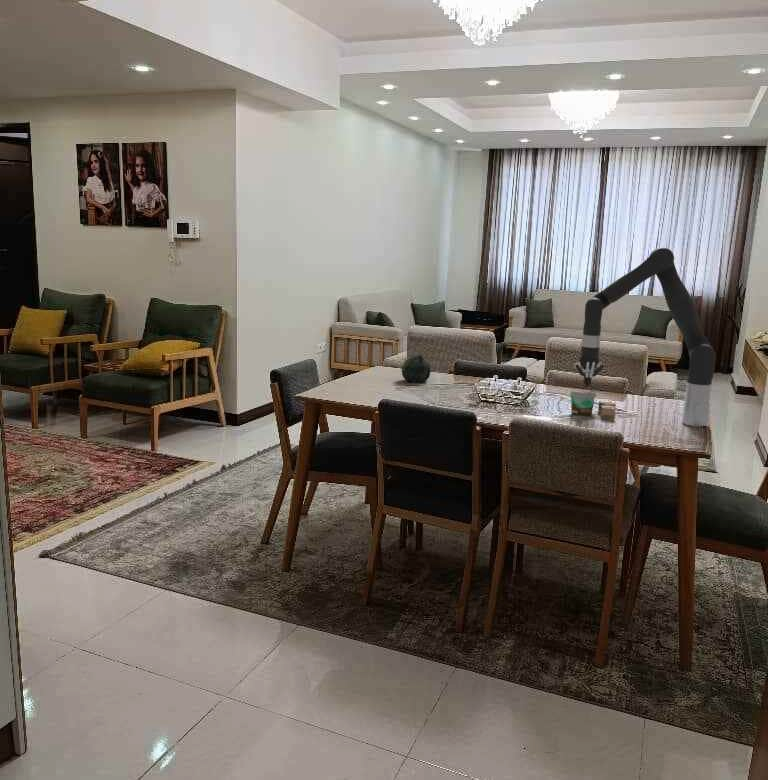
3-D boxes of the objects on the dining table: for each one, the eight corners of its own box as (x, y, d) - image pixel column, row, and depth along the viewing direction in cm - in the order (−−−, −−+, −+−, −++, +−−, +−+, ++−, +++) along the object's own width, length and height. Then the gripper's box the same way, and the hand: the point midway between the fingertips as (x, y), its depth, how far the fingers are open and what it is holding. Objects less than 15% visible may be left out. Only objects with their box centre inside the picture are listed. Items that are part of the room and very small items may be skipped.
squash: (399, 367, 375) (403, 349, 363) (427, 368, 377) (432, 350, 365) (401, 389, 366) (405, 371, 354) (429, 390, 368) (434, 372, 356)
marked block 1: (614, 415, 303) (615, 403, 302) (604, 415, 302) (605, 403, 301) (608, 412, 308) (609, 400, 307) (598, 412, 307) (599, 401, 306)
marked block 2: (614, 420, 294) (615, 408, 293) (601, 419, 295) (602, 407, 294) (612, 417, 299) (613, 405, 298) (600, 416, 300) (601, 404, 299)
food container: (577, 417, 298) (579, 394, 296) (568, 413, 303) (570, 391, 301) (601, 415, 303) (603, 392, 301) (591, 411, 308) (593, 389, 306)
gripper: (578, 346, 293) (575, 387, 296) (609, 347, 294) (605, 387, 297) (572, 344, 300) (568, 384, 303) (602, 344, 301) (598, 384, 305)
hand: (586, 385), depth 300 cm, fingers closed
